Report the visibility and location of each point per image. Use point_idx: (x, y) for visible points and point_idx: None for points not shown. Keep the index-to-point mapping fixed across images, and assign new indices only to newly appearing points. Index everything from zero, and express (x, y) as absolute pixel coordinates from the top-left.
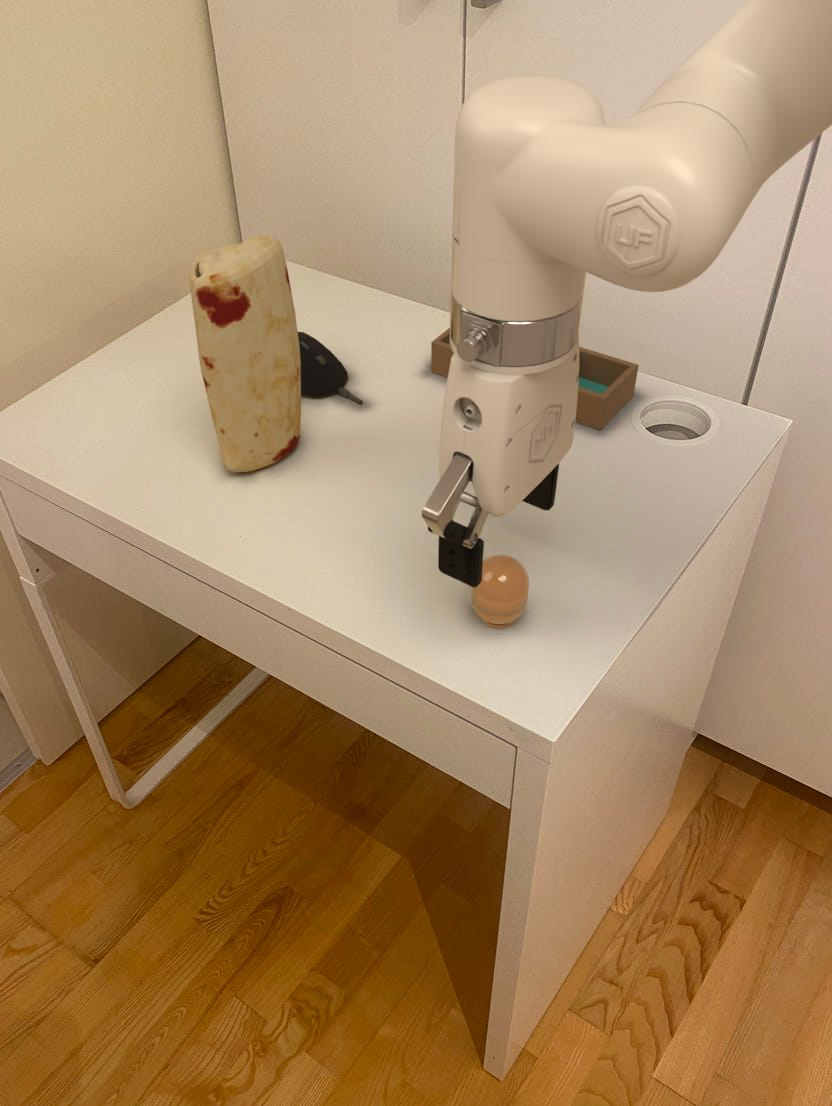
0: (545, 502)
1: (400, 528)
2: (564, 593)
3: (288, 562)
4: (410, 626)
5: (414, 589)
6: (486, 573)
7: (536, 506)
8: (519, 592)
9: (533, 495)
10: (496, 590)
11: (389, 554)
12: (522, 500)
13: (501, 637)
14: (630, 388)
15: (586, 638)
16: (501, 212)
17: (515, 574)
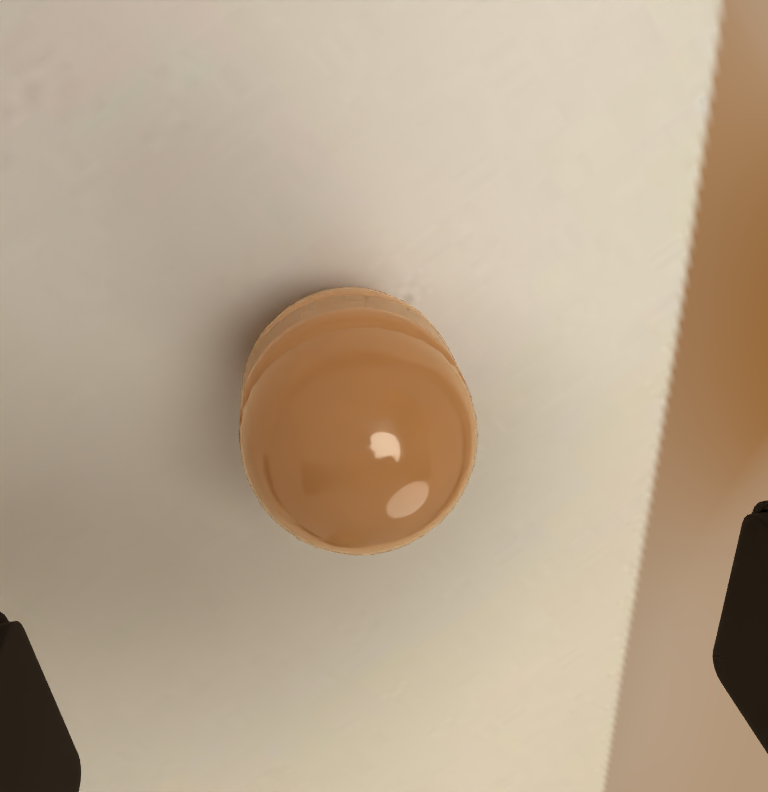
0: (1, 675)
1: (235, 731)
2: (68, 243)
3: (508, 785)
4: (534, 497)
5: (405, 576)
6: (445, 506)
7: (38, 667)
8: (389, 347)
9: (26, 750)
10: (464, 419)
11: (336, 689)
12: (65, 732)
13: (416, 280)
14: None
15: (206, 14)
16: None
17: (375, 422)
